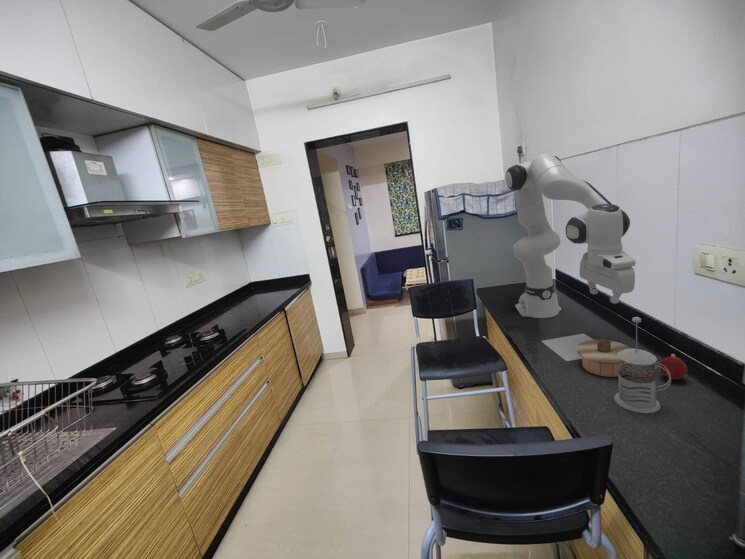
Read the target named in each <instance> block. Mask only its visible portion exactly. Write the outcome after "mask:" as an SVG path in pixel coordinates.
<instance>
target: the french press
mask: <svg viewBox="0 0 745 559" xmlns="http://www.w3.org/2000/svg"><path fill="white" fill-rule="evenodd" d="M631 322H633V323H635V330H636V331H635V348H631V349H625V350H622V351H619V352H618V354H617V355H618V358H619V359H620V360H622V361H623V362H626V363H628V364H623V365H621V366H620V370H619V372H618V376H617V378H618V392H616V393H615V394H614V396H613V398H614V402H615V403H617V404H618V405H619V406H620V407H621V408H624V409H626V410H629V411H631V412H635V413H641V414H651V413H652V414H653V413H656V412H657V411H660V409H661V404H660V402H659V401H658V400H657V392H658V391H659V392H660V391H664V390H666V389H668V388H669V387H671V386H670V385H671V383H672V379H671V374H670V372H669V370H668V369H667V367H665V366H664V365H662V364H660V363H661V362H657V360H658V358H657V357H656V355H654V354H653V353H651V352H648V351H647V350H643V349H639V348H638V324H639V323H641V322H642V318H640V317H638V316H635V317H632V319H631ZM657 364H658V365H657ZM652 365H654V369H655V370H657V368H659V369H660V368H662V367H660V365H662V366H664V367H665V368H666V369H667V371H666V370H665V369H664V368H662V369H664V370H665V371H666V372H667V373H668V375H669V378H668V380H667V382H666V383H665V384H663V385H656V376H655V371H654V370H653V369H652V368H650V367H649V366H652ZM622 376H624V377H622ZM630 378H631V379H630ZM665 386H666V387H665ZM661 387H665V388H661ZM658 388H660V389H658Z"/></svg>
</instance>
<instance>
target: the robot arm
mask: <svg viewBox="0 0 745 559" xmlns="http://www.w3.org/2000/svg"><path fill="white" fill-rule="evenodd" d="M504 179H505V184H506V186H507V187H508V189H509V190H511V191H515V192H514V193H515V195H514V197H515V206H516V212H517V217H518V219H517V220H518V223H519V225H521V226H523V228H525V230H526V232H527V234H528V235H527V236H524V237H522V238H520V239H518V240H517V241H516V242H515V243H514V244H513V246H512V254H513V256H514V257H515V258H516V259H517V260H518V261H520V263H521V264H522V266H523V268H524V274H525V282H526V284H525V286H524V287H525V288H524V289H525V290H524V292H523V293H522V294H521V295H520V297H519V299H518V303H517V304H515V306H514V307H515V308H516V309H517V311H518V313H519V314H520V315H521V317H524V318H525V317H526V318H527V317H528V318H529V317H530V318H536V319H546V318H553V317H555V316H557V315H559V313H560V311H562V307H561V306H560V305H559V300H558V294H557V293H555V285H554V282H553V270H552V267H550V266H549V265H548V264H547V262H546V259H545V256H546V255H548V254H551V253H553V252H554V251H555V250H557V248H559V246H560V244H561V237H560V235H559V234H558V233H557V232H556V231H554V229H553V228H552V227H551V225H550V223H549V221H548V219H547V214H546V209H545V203H544V197H545V198H546V199H548V200H555V201H572V202H577V203H580V204H582V205H583V206H584V207H586V209H587V211H585V212H584V213H580V214H579V215H576V216H573V217H571V218H570V219H569V220H568V221H567V222H566V226H565V237H566V238H567V239H568V241H570V242H571V243H573V244H578V245H582V244H587V251H586V252H585V253H583V254H582V257H581V260H580V263H579V272H578V274H579V277H580V278H581V279H583V280H586V281H587V285H588V288H589V293H590V294H592V295H597V294H599V288H597V285H598V286H601V287H603V288H605V289H608V290H611V293H612V296H610V297H609V302H610V303H612V304H614V305H615V304H619V303H620V298H621V296H622V295H623V294H628V293H631V292H634V290H635V284H636V274H635V273H636V272H635V269H634V267H635V266H636V264H637V263H636V262H637V261H636V259H635V258H633V257H632V256H630V254H628V253H627V252H625V251H624V250H623V243H622V238H623V237H624V236H625V235H626V234H627V232H629V228H630V226H631V220H630V217H629V214H627V213H626V212H625V211H624V210H623V209H621V207H620V206H619V205H616V204H613V203H611V201H610V200H608V199H607V198H606V197H605V196H604V195H603V194H602V193H601V192H600V191H599V190H598V189H596V187H594V186H593V185H592V184H591V183H589V182H588V181H586V180H584V179H581V178H579V177H578V176H576V175H575V174H573V173H572V172H571V171H569V170H568V169H567V167H566V166H565V165H564V164H563V163H562V160H561V159H560V158H559V157H558V156H556V155H553V154H552V153H549V152H545V153H541V154H538V155H536V156H535V157H534V158H533V159H530V160H528V161H524V162H522V163H519V164H514V165H512V166H510V167H509V168H507V170H506V172H505V178H504ZM543 196H544V197H543Z"/></svg>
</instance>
